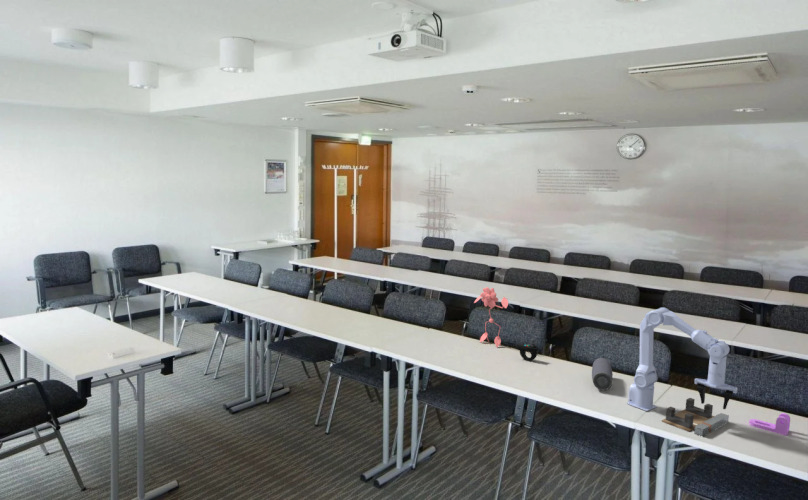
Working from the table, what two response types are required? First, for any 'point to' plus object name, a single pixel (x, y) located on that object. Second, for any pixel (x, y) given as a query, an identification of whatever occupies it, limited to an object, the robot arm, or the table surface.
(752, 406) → the table surface
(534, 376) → the table surface
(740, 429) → the table surface
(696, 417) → the board
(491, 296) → the figurine
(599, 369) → the bluetooth speaker
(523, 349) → the controller
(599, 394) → the table surface
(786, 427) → the bracket
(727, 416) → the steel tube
